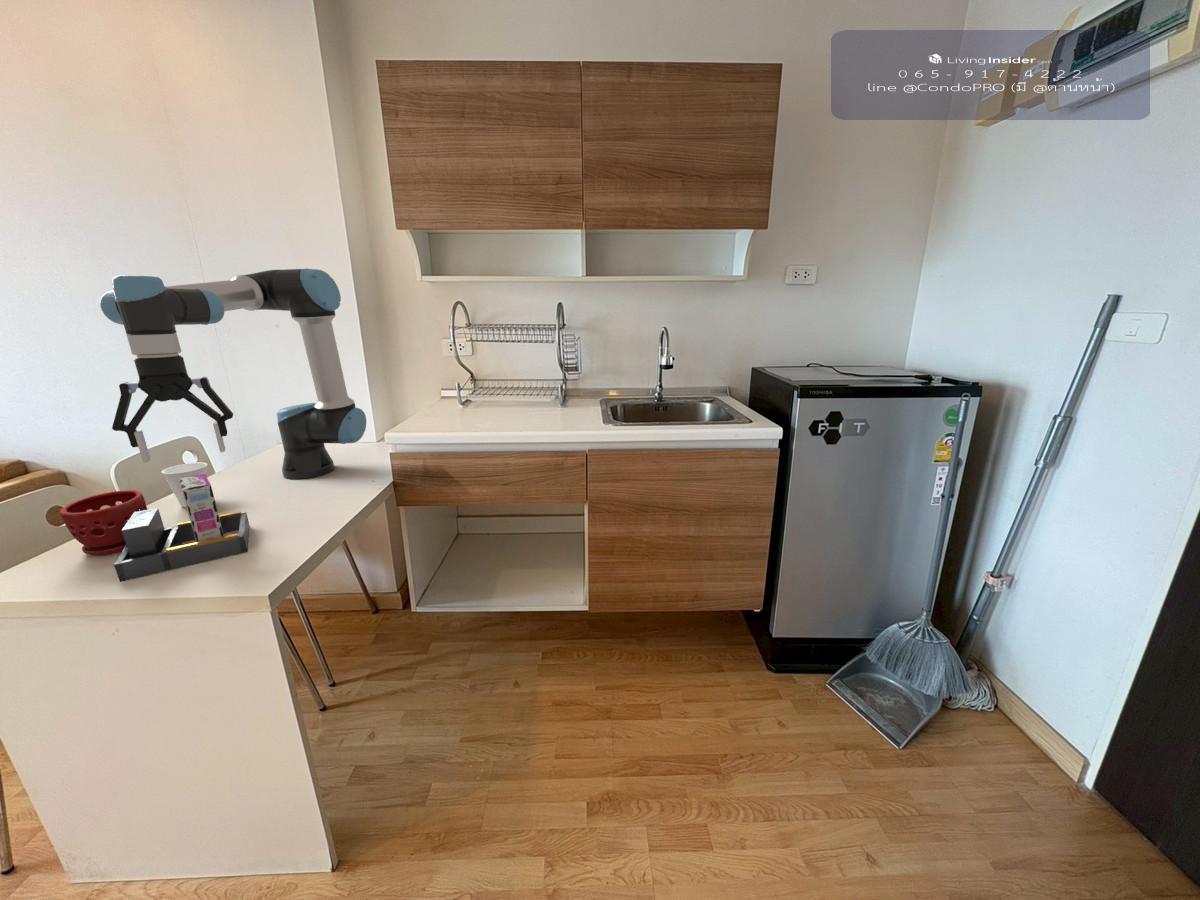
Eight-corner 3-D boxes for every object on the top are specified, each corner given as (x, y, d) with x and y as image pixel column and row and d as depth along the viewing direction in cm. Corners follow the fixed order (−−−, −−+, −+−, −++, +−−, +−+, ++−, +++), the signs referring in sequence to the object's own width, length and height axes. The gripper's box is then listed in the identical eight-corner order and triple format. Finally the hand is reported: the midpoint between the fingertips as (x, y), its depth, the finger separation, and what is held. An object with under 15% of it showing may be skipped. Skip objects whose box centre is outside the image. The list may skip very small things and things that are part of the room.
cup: (191, 512, 127) (180, 474, 124) (162, 509, 129) (151, 472, 126) (226, 498, 136) (216, 463, 133) (198, 496, 138) (189, 461, 135)
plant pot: (91, 542, 111) (75, 496, 107) (163, 530, 117) (150, 485, 113) (65, 567, 100) (45, 516, 96) (146, 552, 106) (130, 504, 102)
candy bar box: (229, 551, 106) (211, 484, 101) (201, 559, 102) (181, 490, 98) (222, 535, 113) (205, 472, 109) (196, 542, 110) (177, 477, 105)
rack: (249, 526, 118) (240, 490, 115) (247, 552, 105) (237, 511, 102) (137, 550, 107) (124, 510, 104) (119, 582, 94) (104, 537, 91)
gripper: (233, 351, 105) (254, 442, 111) (79, 358, 92) (113, 461, 98) (230, 353, 99) (253, 450, 105) (66, 361, 86) (103, 470, 92)
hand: (186, 455), depth 101 cm, fingers open, 12 cm apart
